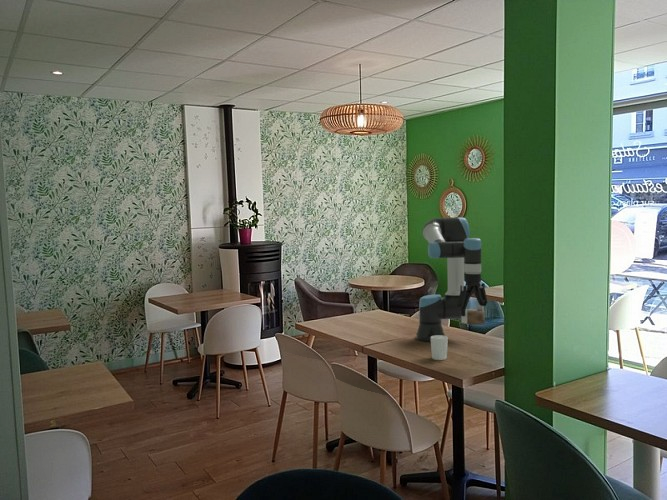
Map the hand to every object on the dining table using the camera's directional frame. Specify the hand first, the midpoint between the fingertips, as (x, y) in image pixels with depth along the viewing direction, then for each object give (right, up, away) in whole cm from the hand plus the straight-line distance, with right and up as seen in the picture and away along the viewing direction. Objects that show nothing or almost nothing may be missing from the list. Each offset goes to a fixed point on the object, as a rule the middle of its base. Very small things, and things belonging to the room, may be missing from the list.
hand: (472, 321), depth 250 cm
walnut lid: (0, 0, 0) cm, 0 cm away
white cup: (-13, -18, +8) cm, 24 cm away
